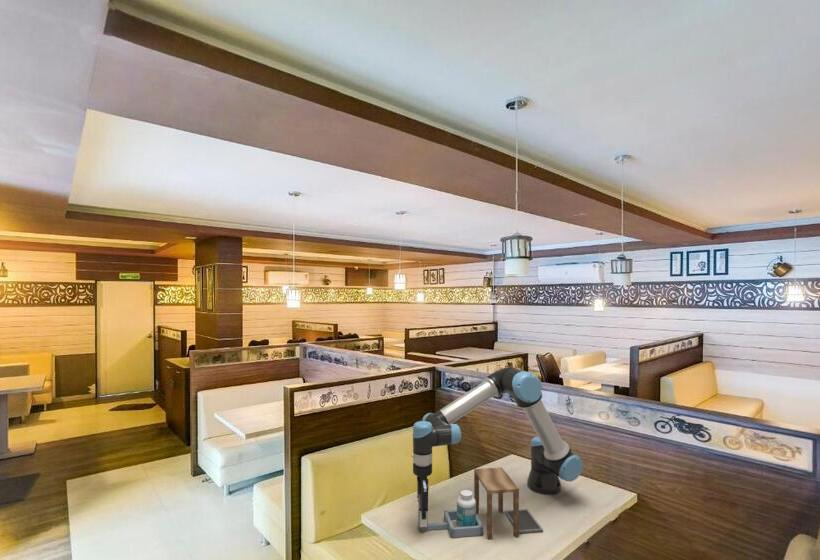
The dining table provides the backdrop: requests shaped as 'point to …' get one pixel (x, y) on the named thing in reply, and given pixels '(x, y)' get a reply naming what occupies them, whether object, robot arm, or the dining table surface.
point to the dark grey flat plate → (525, 522)
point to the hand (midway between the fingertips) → (422, 523)
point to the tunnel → (493, 484)
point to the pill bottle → (466, 509)
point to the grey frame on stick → (448, 524)
